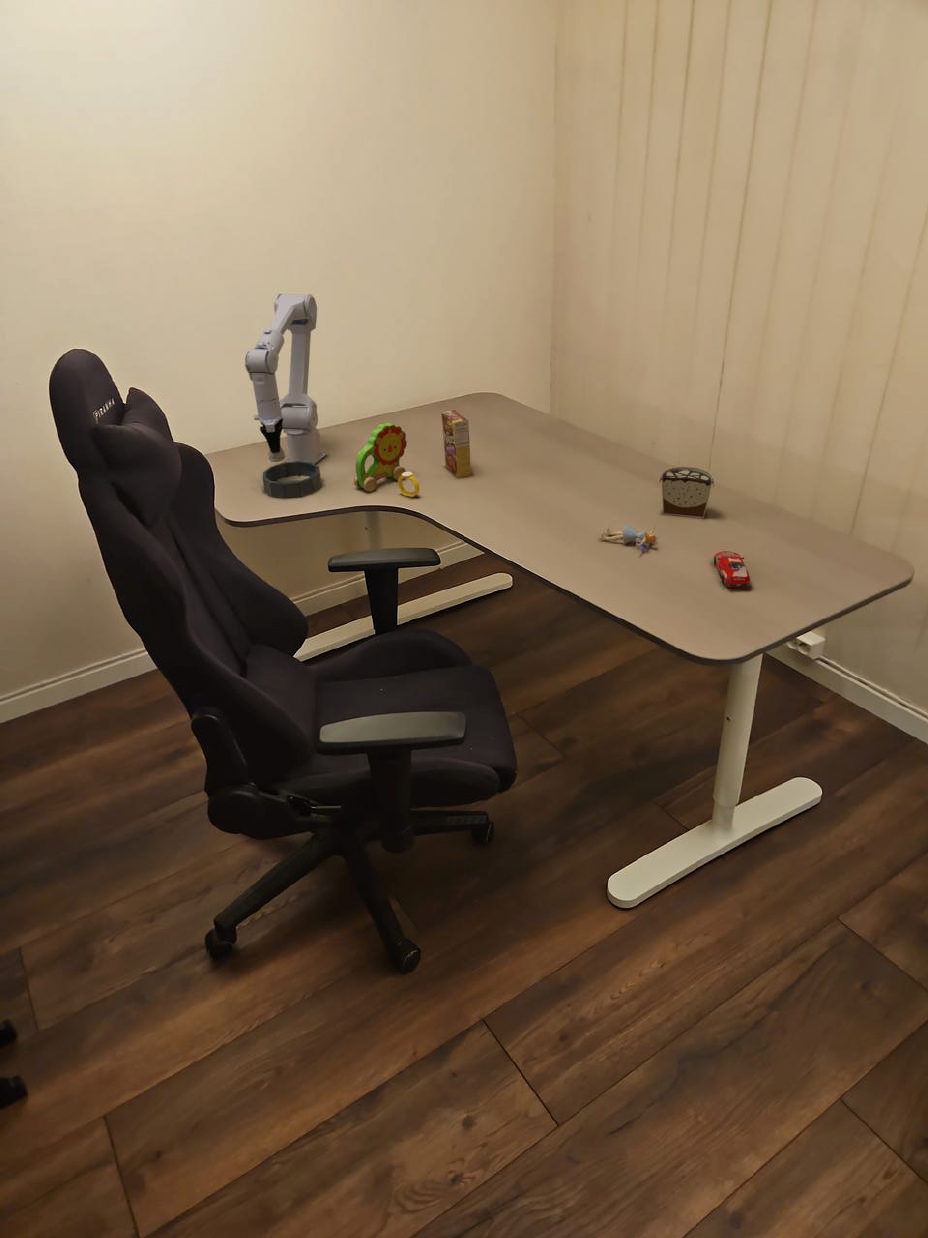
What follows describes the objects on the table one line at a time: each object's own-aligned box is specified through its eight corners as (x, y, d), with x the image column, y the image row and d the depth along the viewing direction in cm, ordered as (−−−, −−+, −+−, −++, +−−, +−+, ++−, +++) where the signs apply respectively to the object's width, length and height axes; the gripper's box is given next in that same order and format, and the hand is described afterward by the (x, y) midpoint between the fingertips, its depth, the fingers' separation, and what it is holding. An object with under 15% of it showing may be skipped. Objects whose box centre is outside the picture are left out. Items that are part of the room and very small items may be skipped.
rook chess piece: (282, 462, 227) (277, 432, 223) (266, 461, 228) (260, 432, 223) (288, 455, 230) (283, 426, 226) (272, 455, 231) (267, 426, 227)
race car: (711, 559, 188) (713, 543, 186) (737, 559, 188) (739, 542, 186) (723, 590, 177) (725, 573, 175) (751, 590, 177) (753, 573, 175)
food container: (713, 508, 210) (717, 468, 204) (710, 519, 205) (715, 478, 199) (660, 502, 213) (663, 463, 208) (656, 513, 208) (659, 473, 203)
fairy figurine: (614, 513, 201) (665, 518, 195) (615, 532, 204) (665, 537, 197) (593, 533, 193) (645, 539, 187) (594, 553, 195) (645, 559, 189)
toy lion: (367, 494, 225) (360, 437, 216) (353, 488, 228) (347, 432, 220) (413, 475, 234) (409, 420, 226) (400, 470, 237) (395, 415, 229)
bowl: (283, 472, 239) (281, 458, 237) (331, 478, 234) (329, 464, 232) (254, 494, 228) (251, 479, 226) (303, 500, 223) (301, 486, 221)
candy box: (443, 466, 238) (440, 411, 230) (458, 463, 239) (456, 409, 231) (456, 478, 231) (453, 422, 223) (471, 475, 232) (469, 419, 224)
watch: (422, 496, 222) (420, 474, 219) (415, 500, 220) (413, 478, 217) (404, 491, 225) (402, 469, 222) (396, 495, 224) (394, 473, 220)
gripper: (252, 390, 226) (260, 441, 233) (249, 408, 214) (259, 461, 221) (279, 387, 227) (287, 438, 234) (279, 405, 215) (287, 458, 222)
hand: (275, 449), depth 228 cm, fingers closed on rook chess piece, 3 cm apart
